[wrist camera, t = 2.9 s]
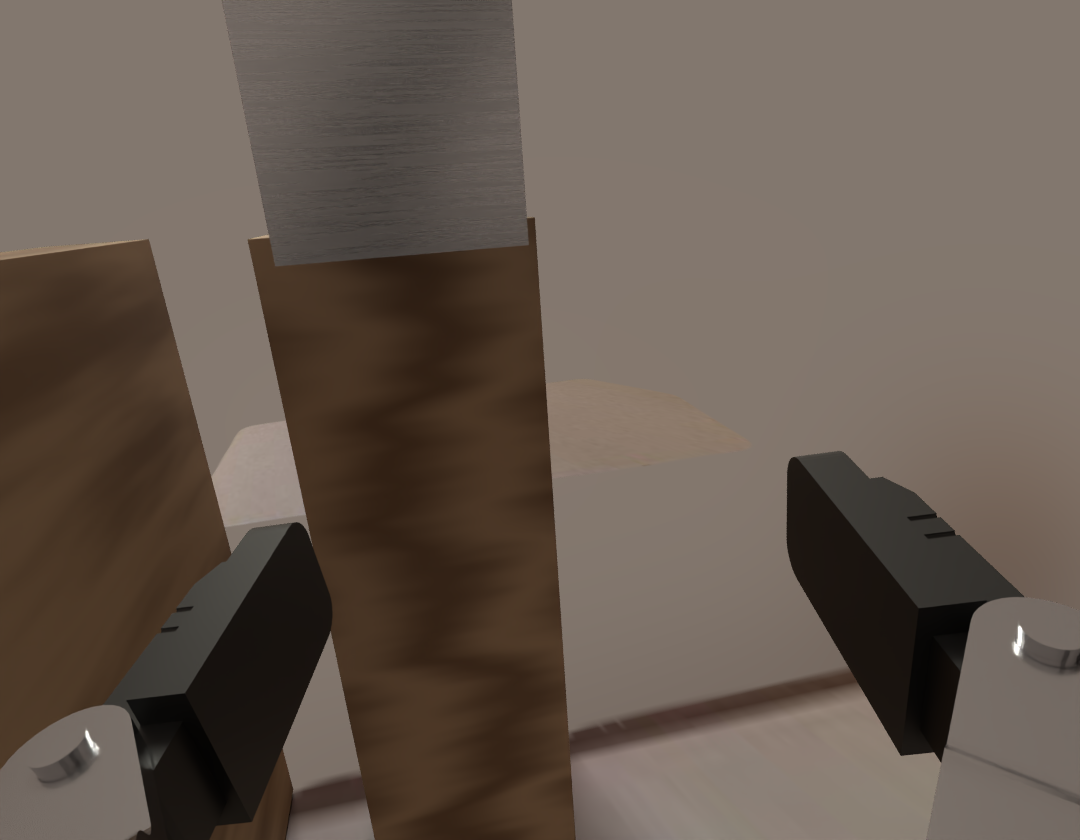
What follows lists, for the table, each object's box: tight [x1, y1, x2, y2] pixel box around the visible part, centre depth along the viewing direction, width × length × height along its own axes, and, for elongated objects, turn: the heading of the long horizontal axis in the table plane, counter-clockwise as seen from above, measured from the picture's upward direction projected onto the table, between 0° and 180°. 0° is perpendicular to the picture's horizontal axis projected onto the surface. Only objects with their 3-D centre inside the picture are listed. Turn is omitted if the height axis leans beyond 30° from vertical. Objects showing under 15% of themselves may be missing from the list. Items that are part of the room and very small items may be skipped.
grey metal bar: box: [222, 0, 529, 267], centre depth 20 cm, size 25×4×5 cm, turn 13°
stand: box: [0, 217, 575, 840], centre depth 24 cm, size 19×24×34 cm
